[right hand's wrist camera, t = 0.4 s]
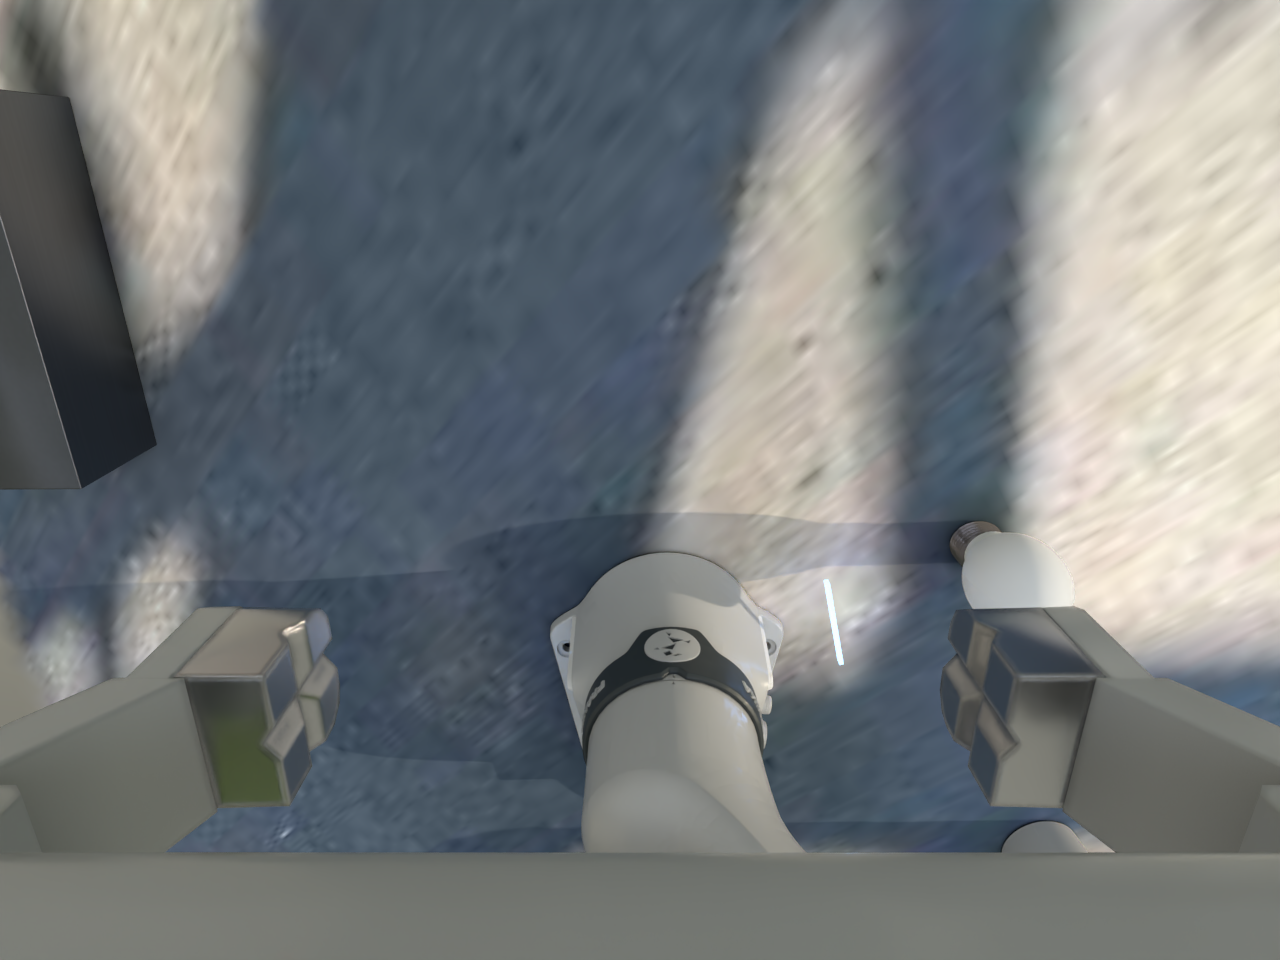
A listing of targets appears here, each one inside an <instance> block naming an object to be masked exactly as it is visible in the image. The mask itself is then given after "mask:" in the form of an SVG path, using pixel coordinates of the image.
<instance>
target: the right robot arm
mask: <svg viewBox="0 0 1280 960" xmlns="http://www.w3.org/2000/svg"><path fill="white" fill-rule="evenodd" d="M824 584H825V590H826V596H827V601H828V607H829V613H830V619H831V625H832V630H833V636H834V642H835V648H836V653H837V659H838V662H839V664H840V665H842V664H843V658H842V652H841V646H840V640H839V634H838V628H837V623H836V617H835V611H834V605H833V599H832V593H831V587H830V583H829V581H828V579H827V580H824ZM550 638H551V642H552V646H553V649H554V653H555V656H556V660H557V663H558V667H559V670H560V673H561V677H562V680H563V684H564V687H565V691H566V694H567V698H568V701H569V704H570V708H571V711H572V715H573V718H574V722H575V725H576V729H577V732H578V736H579V739H580V742H581V746H582V749H583V755H584V760H585V763H586V766H587V767H586V779H585V790H584V802H583V813H582V824H581V833H582V840H583V845H584V849H585V852H586V853H164V852H166V851H167V850H168V849H169V848H171V847H172V846H173V845H175V844H176V843H177V842H179V841H180V840H181V839H182V838H184V837H185V836H186V835H188V834H189V833H190V832H191V831H193V830H194V829H195V828H197V827H198V826H199V825H201V824H202V823H203V822H204V821H206V820H207V819H208V818H210V817H211V816H212V815H214V814H215V813H216V812H217V808H233V807H269V806H290V805H291V803H292V801H293V799H294V797H295V796H296V794H297V792H298V790H299V789H300V787H301V785H302V783H303V781H304V780H305V778H306V776H307V774H308V772H309V771H310V769H311V767H312V762H311V757H310V751H311V750H313V749H314V748H316V747H317V746H319V745H320V744H322V743H323V742H325V741H326V740H327V738H328V736H329V734H330V732H331V730H332V728H333V726H334V724H335V720H336V716H337V711H338V707H339V703H340V683H339V676H338V670H337V667H336V666H335V665H334V664H333V663H332V662H331V661H330V660H329V659H328V658H327V657H326V656H325V655H324V654H323V652H324V650H325V649H326V647H327V646H328V644H329V643H330V641H331V640H332V635H331V630H330V625H329V620H328V616H327V615H326V614H325V613H324V612H323V611H322V610H321V609H320V608H268V607H245V608H243V607H240V606H234V607H205V608H199V609H197V610H196V611H195V612H194V613H193V614H191V615H190V616H189V617H188V618H187V619H186V620H185V621H184V622H183V623H182V624H181V625H180V626H179V627H178V628H177V629H176V630H175V631H174V632H173V633H172V634H171V635H170V636H169V637H168V638H167V639H166V640H165V641H164V642H163V643H162V644H161V645H160V646H159V647H157V648H156V649H155V650H154V651H153V652H152V653H151V654H150V655H149V656H148V657H147V658H146V659H145V660H144V661H143V662H142V663H141V664H140V665H139V666H138V667H137V668H136V669H135V670H134V671H133V672H132V673H131V674H130V675H129V676H128V677H127V678H112V679H110V680H107V681H105V682H103V683H100V684H98V685H96V686H94V687H91V688H89V689H87V690H84V691H82V692H80V693H77V694H75V695H73V696H70V697H68V698H66V699H63V700H61V701H59V702H56V703H54V704H52V705H49V706H47V707H45V708H43V709H40V710H38V711H36V712H33V713H31V714H29V715H26V716H24V717H22V718H19V719H17V720H15V721H12V722H10V723H8V724H5V725H3V726H1V727H0V960H1280V727H1279V726H1277V725H1274V724H1272V723H1270V722H1267V721H1265V720H1263V719H1260V718H1258V717H1256V716H1253V715H1251V714H1249V713H1247V712H1244V711H1242V710H1240V709H1237V708H1235V707H1233V706H1230V705H1228V704H1226V703H1223V702H1221V701H1219V700H1216V699H1214V698H1212V697H1210V696H1207V695H1205V694H1203V693H1200V692H1198V691H1196V690H1193V689H1191V688H1189V687H1186V686H1184V685H1182V684H1179V683H1177V682H1175V681H1173V680H1170V679H1168V678H1153V677H1152V676H1151V675H1150V674H1149V673H1148V672H1147V671H1146V670H1145V669H1144V668H1143V667H1142V666H1141V665H1140V664H1139V663H1138V662H1137V661H1136V660H1135V659H1134V658H1133V657H1132V656H1131V655H1130V654H1129V653H1128V652H1127V651H1126V650H1125V649H1124V648H1123V647H1122V646H1121V645H1120V644H1119V643H1118V642H1116V641H1115V640H1114V639H1113V638H1112V637H1111V636H1110V635H1109V634H1108V633H1107V632H1106V631H1105V630H1104V629H1103V628H1102V627H1101V626H1100V625H1099V624H1098V623H1097V622H1096V621H1095V620H1094V619H1093V618H1092V617H1091V616H1090V615H1089V614H1088V613H1087V612H1086V611H1085V610H1083V609H1080V608H1077V607H1074V606H1065V607H1034V608H994V609H963V610H956V612H955V614H954V616H953V618H952V620H951V623H950V629H949V634H948V640H949V641H950V643H951V644H952V646H953V647H954V649H955V650H956V652H957V654H956V655H955V656H954V657H953V658H952V659H951V660H950V661H949V662H948V663H947V664H946V665H945V666H944V667H943V670H942V678H941V686H940V697H941V708H942V714H943V717H944V720H945V723H946V727H947V729H948V730H949V732H950V734H951V736H952V738H953V740H954V741H955V742H957V743H958V744H960V745H961V746H963V747H964V748H966V749H967V750H969V751H970V757H969V762H968V767H969V769H970V771H971V772H972V774H973V776H974V778H975V780H976V781H977V783H978V785H979V787H980V788H981V790H982V792H983V794H984V796H985V797H986V799H987V801H988V803H989V804H990V806H1009V807H1046V808H1063V812H1064V813H1066V814H1067V815H1068V816H1069V817H1071V818H1072V819H1073V820H1075V821H1076V822H1077V823H1078V824H1080V825H1081V826H1082V827H1084V828H1085V829H1086V830H1087V831H1089V832H1090V833H1091V834H1093V835H1094V836H1095V837H1097V838H1098V839H1099V840H1100V841H1102V842H1103V843H1104V844H1106V845H1107V846H1108V847H1109V848H1111V849H1112V850H1113V851H1115V852H1116V853H806V852H805V851H804V850H803V848H802V847H801V846H800V845H799V844H798V843H797V842H796V840H795V839H794V838H793V836H792V835H791V834H790V832H789V831H788V829H787V828H786V826H785V824H784V823H783V821H782V819H781V817H780V815H779V813H778V810H777V807H776V804H775V801H774V798H773V795H772V792H771V789H770V786H769V782H768V779H767V776H766V772H765V768H764V764H763V760H762V755H763V749H764V748H765V745H766V739H767V725H766V722H765V721H763V720H762V714H769V713H770V712H771V707H772V699H771V696H768V695H767V692H768V690H770V689H772V687H773V677H772V672H773V669H774V666H775V662H776V659H777V656H778V653H779V649H780V646H781V643H782V640H783V626H782V623H781V622H780V621H779V620H778V619H777V618H776V617H775V616H774V615H772V614H771V613H769V612H767V611H766V610H764V609H762V608H760V607H758V606H757V605H755V604H754V603H753V602H752V600H751V599H750V598H749V596H748V595H747V594H746V592H745V591H744V589H743V588H742V587H741V585H740V584H739V583H738V582H737V581H736V580H735V579H734V578H733V577H732V576H731V575H730V574H729V573H728V572H726V571H725V570H724V569H722V568H721V567H719V566H717V565H716V564H714V563H712V562H710V561H707V560H705V559H702V558H699V557H696V556H692V555H688V554H682V553H668V552H666V553H653V554H647V555H643V556H639V557H636V558H633V559H630V560H628V561H625V562H623V563H621V564H619V565H618V566H616V567H614V568H613V569H611V570H610V571H608V572H607V573H606V574H605V575H603V576H602V577H601V578H600V579H599V580H598V581H597V582H596V583H595V585H594V586H593V587H592V588H591V590H590V591H589V592H588V594H587V595H586V597H585V598H584V599H583V600H582V602H581V603H580V604H579V605H578V606H577V607H575V608H573V609H571V610H569V611H568V612H566V613H564V614H563V615H561V616H560V617H558V618H557V619H556V620H555V621H554V622H553V623H552V625H551V628H550ZM766 642H768V643H769V644H768V645H767V643H766ZM565 643H570V647H567V646H565V645H564V644H565Z"/></svg>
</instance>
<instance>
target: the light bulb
mask: <svg viewBox="0 0 1280 960" xmlns="http://www.w3.org/2000/svg"><path fill="white" fill-rule="evenodd" d="M950 550H951V553H952V555H953V556H954V557H955V559H956V560H957V561H958V562H959V564H960V565H961V566H962V567H963V569H962V585H963V588H964V592H965V595H966V598H967V600H968V601H969V603H970V605H971V607H972V608H973V609H994V608H1034V607H1065V606H1073V604H1074V600H1075V588H1074V582H1073V578H1072V575H1071V573H1070V571H1069V569H1068V567H1067V565H1066V563H1065V562H1064V561H1063V559H1062V558H1061V557H1060V556H1059V555H1058V554H1057V553H1056V552H1055V550H1053V549H1052V548H1051V547H1049V546H1048V545H1047V544H1045V543H1044V542H1042V541H1041V540H1038V539H1036V538H1033V537H1031V536H1028V535H1026V534H1020V533H1012V532H1004V533H1002V532H1001V531H1000V530H999V528H998V527H996V526H995V525H993V524H991V523H989V522H984V521H976V522H971V523H968V524H965V525H963V526H962V527H960V528H959V529H958V530H957V531H956V532H955V533H954V534H953V536H952V538H951V541H950Z"/></svg>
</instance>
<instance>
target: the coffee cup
mask: <svg viewBox="0 0 1280 960" xmlns="http://www.w3.org/2000/svg"><path fill="white" fill-rule="evenodd" d="M1002 853H1089V852H1088V851H1087V849H1086V848H1085V847H1084V845H1083V844H1082V843H1081V842H1080V840H1079V839H1078V838H1077V836H1076V835H1075V834H1074V832H1073V831H1072V830H1071V829H1070V828H1069V827H1067V826H1066V825H1064V824H1061V823H1058V822H1052V821H1042V822H1036V823H1032V824H1029V825H1026V826H1024V827H1022V828H1020V829H1018V830H1017V831H1015V832H1014V833H1013V834H1012V835H1011V836H1010V837H1009V838H1008V839H1007V840H1006V842H1005V843H1004V846H1003V848H1002Z"/></svg>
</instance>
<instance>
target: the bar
mask: <svg viewBox="0 0 1280 960" xmlns="http://www.w3.org/2000/svg"><path fill="white" fill-rule="evenodd" d="M155 445H156V441H155V437H154V433H153V429H152V425H151V421H150V417H149V413H148V409H147V405H146V401H145V397H144V393H143V389H142V385H141V381H140V377H139V373H138V369H137V365H136V361H135V357H134V354H133V350H132V346H131V342H130V338H129V334H128V330H127V326H126V322H125V318H124V314H123V310H122V306H121V302H120V298H119V294H118V290H117V286H116V282H115V278H114V274H113V270H112V266H111V262H110V258H109V254H108V250H107V246H106V242H105V239H104V235H103V231H102V227H101V223H100V219H99V215H98V211H97V207H96V203H95V199H94V195H93V191H92V187H91V183H90V179H89V175H88V171H87V167H86V163H85V159H84V155H83V151H82V147H81V143H80V139H79V135H78V131H77V127H76V124H75V120H74V116H73V112H72V108H71V104H70V100H69V98H68V97H61V96H52V95H44V94H35V93H26V92H17V91H8V90H0V489H82V488H84V487H85V486H87V485H89V484H90V483H92V482H94V481H96V480H97V479H99V478H101V477H102V476H104V475H106V474H108V473H109V472H111V471H113V470H114V469H116V468H118V467H119V466H121V465H123V464H125V463H126V462H128V461H130V460H131V459H133V458H135V457H137V456H138V455H140V454H142V453H143V452H145V451H147V450H149V449H150V448H152V447H154V446H155Z"/></svg>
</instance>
